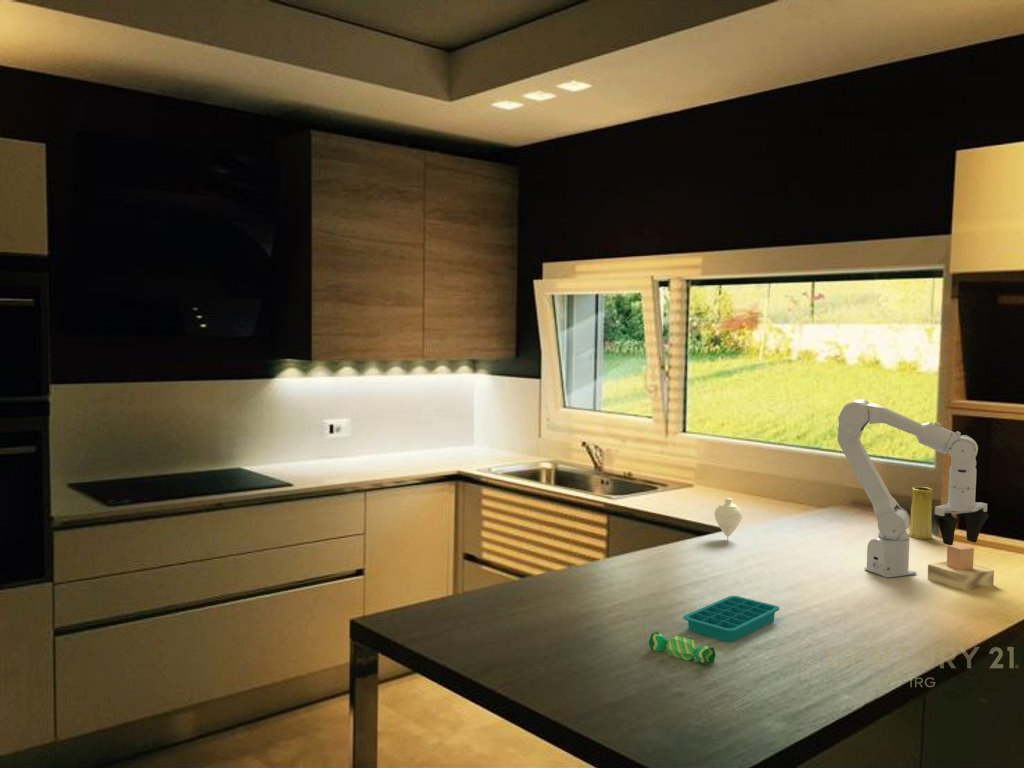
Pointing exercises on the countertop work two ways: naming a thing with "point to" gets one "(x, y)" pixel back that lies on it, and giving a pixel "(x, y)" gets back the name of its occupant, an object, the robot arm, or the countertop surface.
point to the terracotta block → (960, 556)
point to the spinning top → (728, 516)
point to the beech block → (961, 576)
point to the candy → (682, 648)
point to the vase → (921, 513)
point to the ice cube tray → (731, 618)
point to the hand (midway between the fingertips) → (959, 542)
